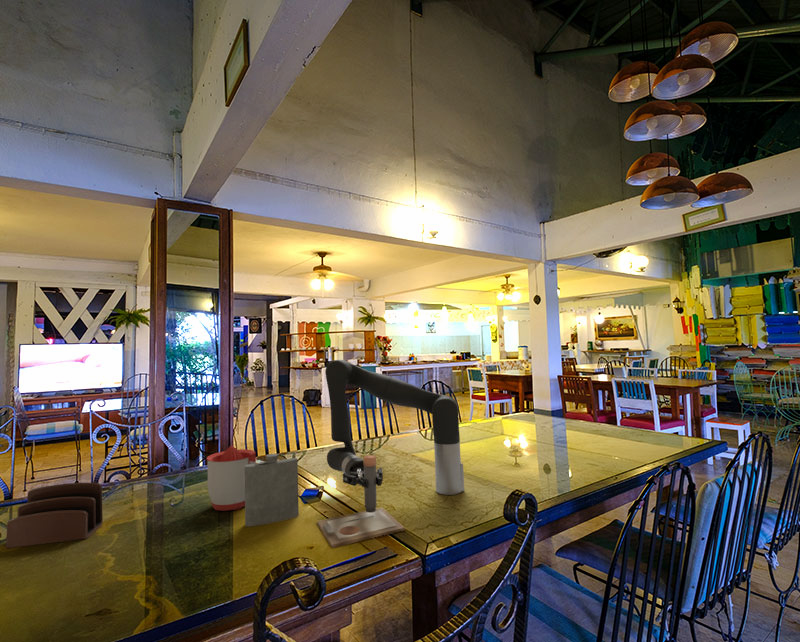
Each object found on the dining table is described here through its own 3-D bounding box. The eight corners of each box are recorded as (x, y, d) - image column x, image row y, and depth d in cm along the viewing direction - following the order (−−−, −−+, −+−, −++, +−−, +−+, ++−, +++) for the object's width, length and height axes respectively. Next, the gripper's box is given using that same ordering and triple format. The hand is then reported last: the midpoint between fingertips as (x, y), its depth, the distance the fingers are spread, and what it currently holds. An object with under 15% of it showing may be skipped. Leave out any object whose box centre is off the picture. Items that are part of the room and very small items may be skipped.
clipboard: (382, 510, 133) (382, 505, 134) (404, 530, 118) (404, 524, 118) (317, 523, 125) (316, 518, 125) (332, 547, 109) (331, 541, 109)
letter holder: (28, 534, 125) (29, 486, 126) (103, 525, 130) (103, 479, 131) (5, 549, 116) (6, 497, 116) (87, 539, 120) (87, 489, 121)
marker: (374, 507, 129) (373, 454, 130) (378, 511, 125) (377, 457, 126) (362, 509, 127) (361, 456, 128) (367, 514, 124) (365, 459, 125)
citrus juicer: (251, 513, 135) (250, 450, 136) (197, 515, 135) (197, 452, 136) (267, 496, 150) (266, 439, 152) (219, 497, 151) (219, 441, 152)
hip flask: (297, 512, 134) (296, 449, 135) (300, 517, 130) (298, 452, 131) (244, 523, 127) (243, 456, 128) (246, 528, 123) (245, 459, 125)
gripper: (334, 460, 137) (350, 474, 122) (374, 454, 143) (395, 467, 127) (335, 483, 137) (351, 500, 121) (375, 476, 143) (395, 492, 127)
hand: (373, 483), depth 124 cm, fingers closed on marker, 3 cm apart
